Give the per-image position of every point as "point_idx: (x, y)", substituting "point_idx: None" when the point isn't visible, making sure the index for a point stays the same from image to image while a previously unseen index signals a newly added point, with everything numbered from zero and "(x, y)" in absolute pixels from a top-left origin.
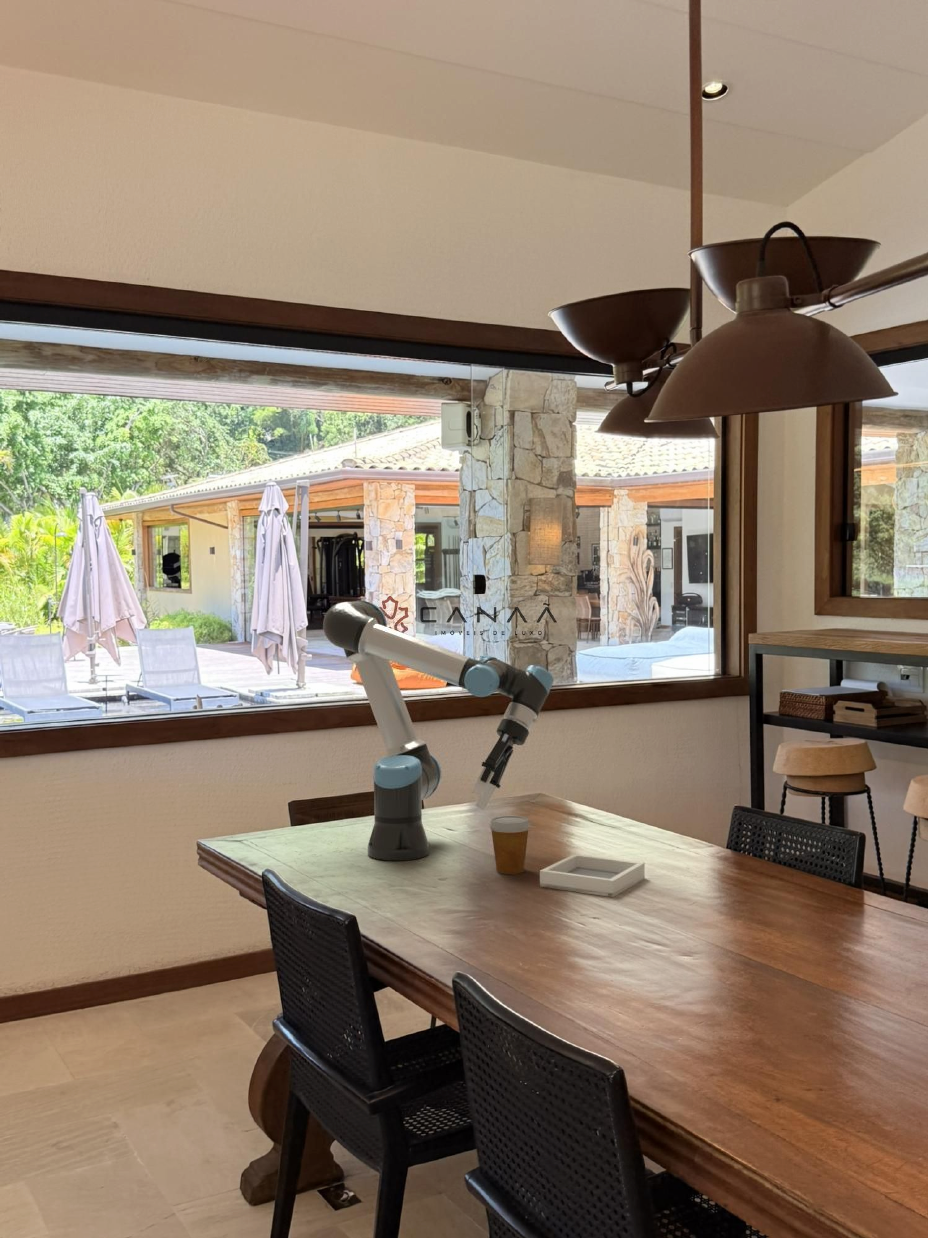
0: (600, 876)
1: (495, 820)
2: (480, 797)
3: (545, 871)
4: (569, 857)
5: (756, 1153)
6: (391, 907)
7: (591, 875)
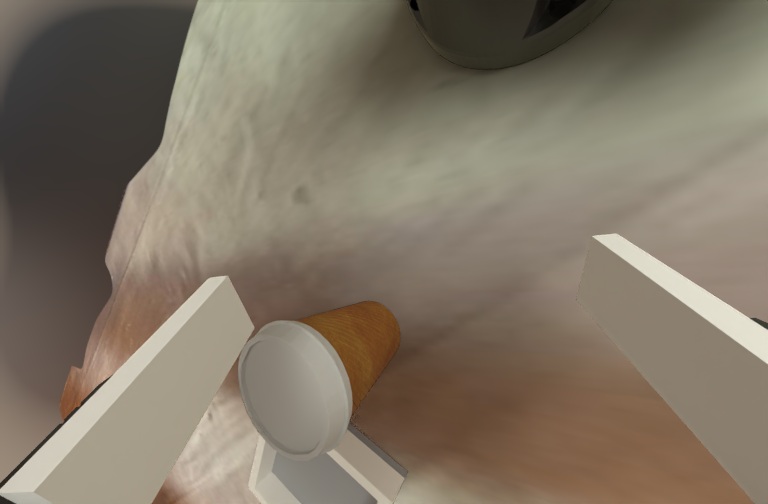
0: (337, 494)
1: (279, 347)
2: (643, 287)
3: None
4: (360, 478)
5: (67, 394)
6: (185, 163)
7: (339, 481)
